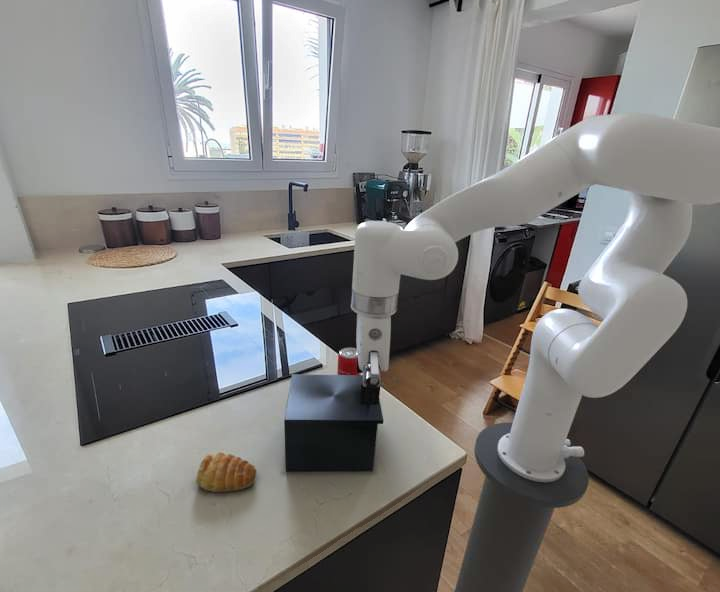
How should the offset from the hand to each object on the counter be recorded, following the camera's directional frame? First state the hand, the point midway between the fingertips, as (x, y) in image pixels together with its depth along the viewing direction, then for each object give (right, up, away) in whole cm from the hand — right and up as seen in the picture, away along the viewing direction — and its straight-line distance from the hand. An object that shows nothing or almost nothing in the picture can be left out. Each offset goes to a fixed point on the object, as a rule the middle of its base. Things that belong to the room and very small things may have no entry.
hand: (366, 387), depth 71 cm
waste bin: (-7, -12, +5) cm, 15 cm away
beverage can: (-4, -6, +19) cm, 21 cm away
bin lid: (-6, -2, +1) cm, 6 cm away
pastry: (-24, -15, -3) cm, 29 cm away
